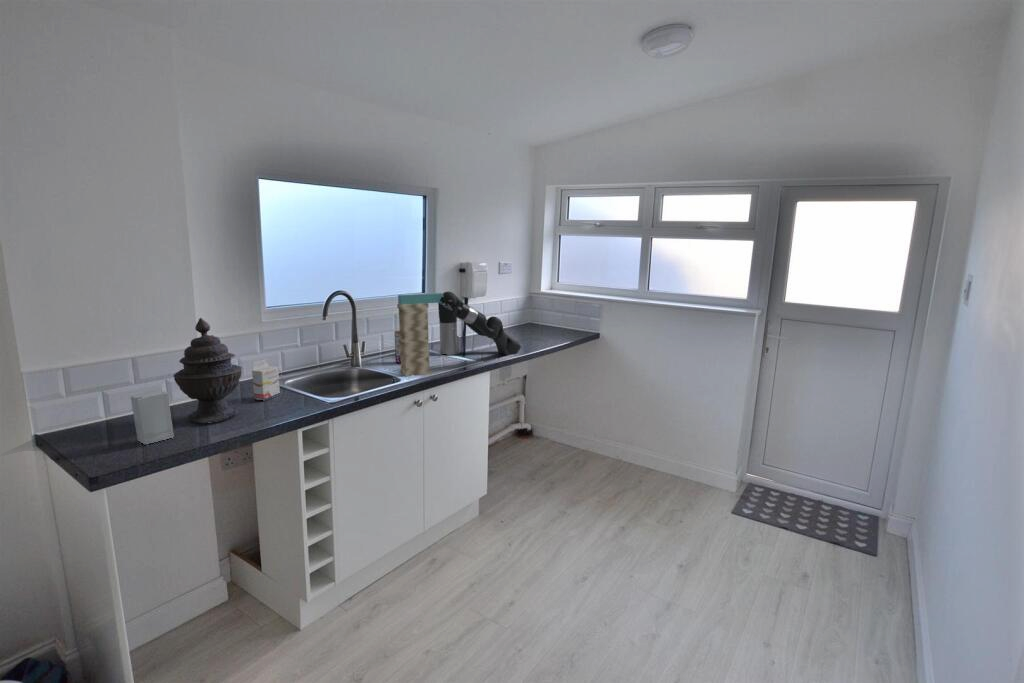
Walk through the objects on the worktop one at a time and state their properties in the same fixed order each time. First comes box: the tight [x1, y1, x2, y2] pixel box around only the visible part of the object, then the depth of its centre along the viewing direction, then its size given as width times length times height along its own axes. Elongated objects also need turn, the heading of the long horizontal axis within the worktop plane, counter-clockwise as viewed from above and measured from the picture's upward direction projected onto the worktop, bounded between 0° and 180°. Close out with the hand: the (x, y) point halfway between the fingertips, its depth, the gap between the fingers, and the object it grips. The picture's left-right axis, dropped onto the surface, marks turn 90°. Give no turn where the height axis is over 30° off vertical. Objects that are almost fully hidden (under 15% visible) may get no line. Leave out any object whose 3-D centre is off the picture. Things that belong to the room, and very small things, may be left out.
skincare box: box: [130, 389, 175, 444], centre depth 161 cm, size 8×6×15 cm
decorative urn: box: [173, 317, 243, 424], centre depth 181 cm, size 20×20×35 cm
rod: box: [397, 292, 444, 305], centre depth 241 cm, size 20×4×4 cm, turn 120°
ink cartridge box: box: [251, 358, 281, 399], centre depth 205 cm, size 9×5×15 cm, turn 160°
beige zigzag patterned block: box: [396, 303, 432, 377], centre depth 242 cm, size 12×7×32 cm, turn 120°
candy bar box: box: [394, 328, 401, 363], centre depth 266 cm, size 11×5×16 cm, turn 84°
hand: (437, 297), depth 244 cm, fingers open, 8 cm apart
